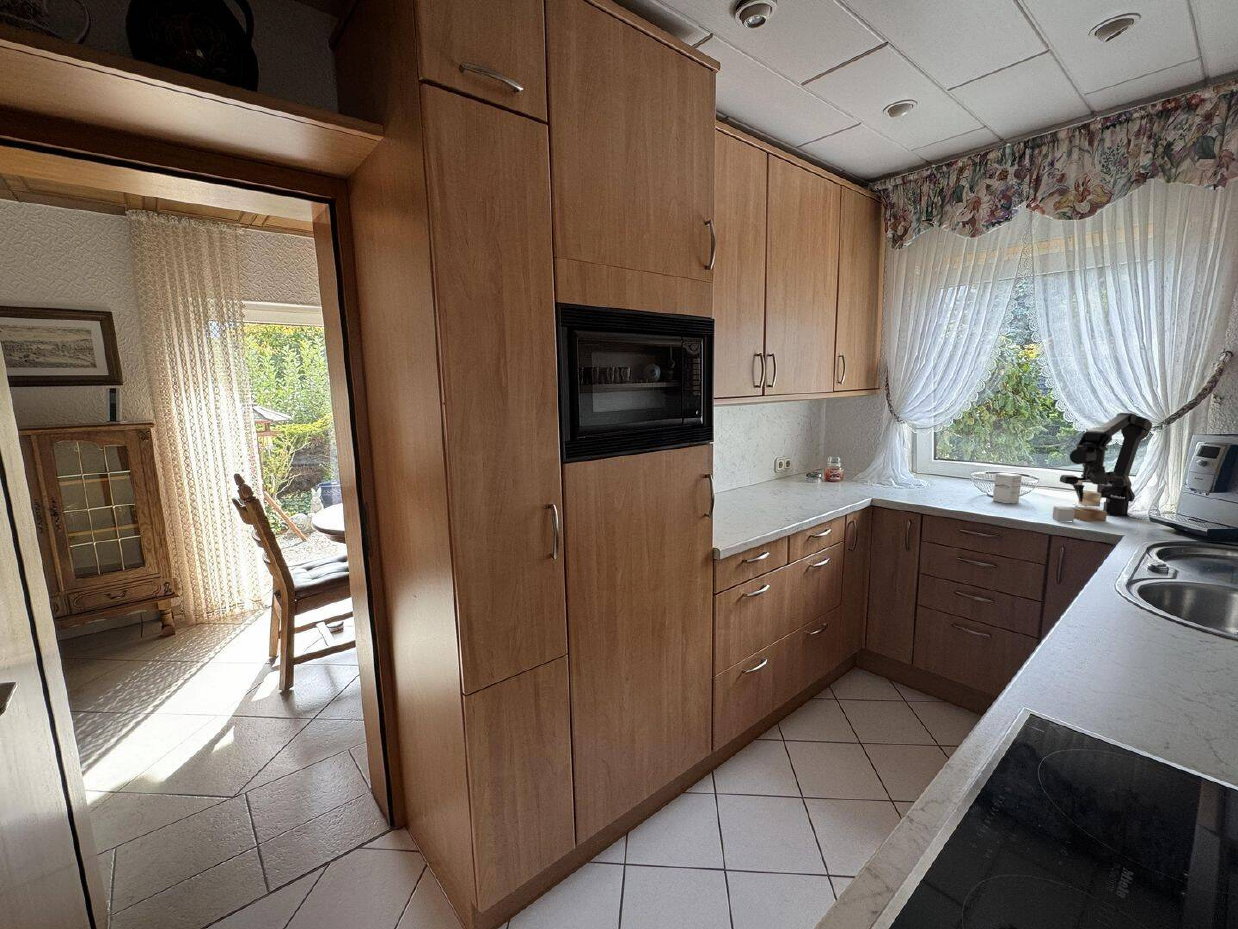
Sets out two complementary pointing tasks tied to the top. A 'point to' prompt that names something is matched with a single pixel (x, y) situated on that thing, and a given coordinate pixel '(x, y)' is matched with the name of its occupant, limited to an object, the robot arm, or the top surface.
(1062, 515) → the grey plastic cube
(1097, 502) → the birch cube
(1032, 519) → the top surface
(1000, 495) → the supplement box
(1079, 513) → the walnut block
